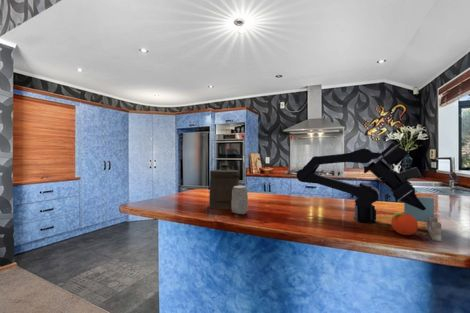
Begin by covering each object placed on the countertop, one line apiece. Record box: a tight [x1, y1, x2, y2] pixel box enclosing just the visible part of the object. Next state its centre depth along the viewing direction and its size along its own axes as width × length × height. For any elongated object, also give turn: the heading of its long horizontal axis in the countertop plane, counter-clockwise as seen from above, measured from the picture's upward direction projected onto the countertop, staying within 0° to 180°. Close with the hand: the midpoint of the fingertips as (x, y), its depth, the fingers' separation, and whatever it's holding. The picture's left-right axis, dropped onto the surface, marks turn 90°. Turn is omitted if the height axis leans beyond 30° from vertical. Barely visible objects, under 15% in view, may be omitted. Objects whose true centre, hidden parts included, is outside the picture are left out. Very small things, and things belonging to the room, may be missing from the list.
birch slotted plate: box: [428, 216, 442, 242], centre depth 72 cm, size 2×10×5 cm, turn 145°
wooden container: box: [208, 162, 240, 210], centre depth 115 cm, size 15×15×22 cm
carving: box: [231, 185, 249, 215], centre depth 100 cm, size 6×8×12 cm
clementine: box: [390, 212, 419, 236], centre depth 74 cm, size 8×7×7 cm
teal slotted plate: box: [403, 196, 435, 231], centre depth 80 cm, size 8×2×11 cm, turn 55°
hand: (423, 207), depth 79 cm, fingers open, 9 cm apart
